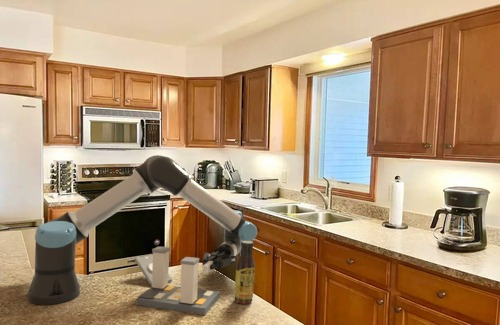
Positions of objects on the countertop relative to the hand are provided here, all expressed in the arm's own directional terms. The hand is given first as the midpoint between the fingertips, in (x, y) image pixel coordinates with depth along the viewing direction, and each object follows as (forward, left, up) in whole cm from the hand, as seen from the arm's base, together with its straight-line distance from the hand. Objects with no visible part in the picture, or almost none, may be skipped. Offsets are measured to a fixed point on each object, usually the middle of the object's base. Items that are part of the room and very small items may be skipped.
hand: (204, 270), depth 128 cm
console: (-5, -8, -8) cm, 13 cm away
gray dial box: (-23, +7, -9) cm, 26 cm away
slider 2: (0, -13, -6) cm, 14 cm away
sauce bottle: (+15, -1, -9) cm, 17 cm away
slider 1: (-14, -4, -6) cm, 16 cm away
